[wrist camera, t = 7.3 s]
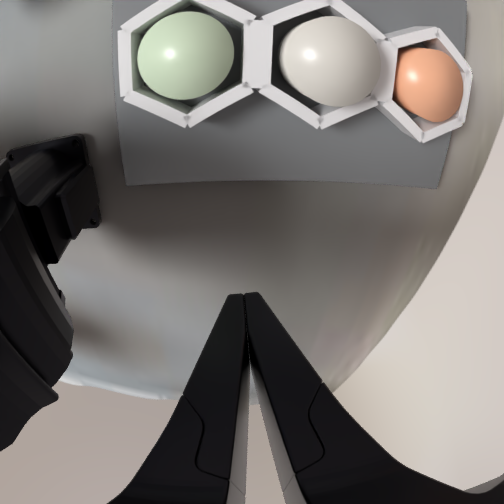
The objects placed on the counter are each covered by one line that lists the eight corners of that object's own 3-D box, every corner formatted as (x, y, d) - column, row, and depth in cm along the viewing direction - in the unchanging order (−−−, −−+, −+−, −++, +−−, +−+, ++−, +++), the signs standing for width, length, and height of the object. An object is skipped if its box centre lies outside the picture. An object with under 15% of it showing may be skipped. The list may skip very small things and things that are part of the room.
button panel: (132, 175, 17) (116, 202, 14) (124, -43, 8) (102, -60, 6) (425, 179, 19) (452, 203, 16) (452, 1, 10) (487, 2, 7)
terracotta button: (379, 104, 14) (400, 114, 12) (386, 38, 11) (410, 39, 10) (432, 116, 14) (456, 128, 12) (441, 57, 12) (467, 62, 10)
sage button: (151, 96, 13) (139, 103, 11) (150, 22, 10) (137, 17, 8) (231, 91, 13) (233, 97, 11) (233, 17, 11) (235, 9, 9)
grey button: (275, 94, 13) (285, 102, 11) (279, 16, 10) (290, 9, 8) (353, 102, 13) (375, 112, 11) (360, 29, 10) (384, 27, 9)
